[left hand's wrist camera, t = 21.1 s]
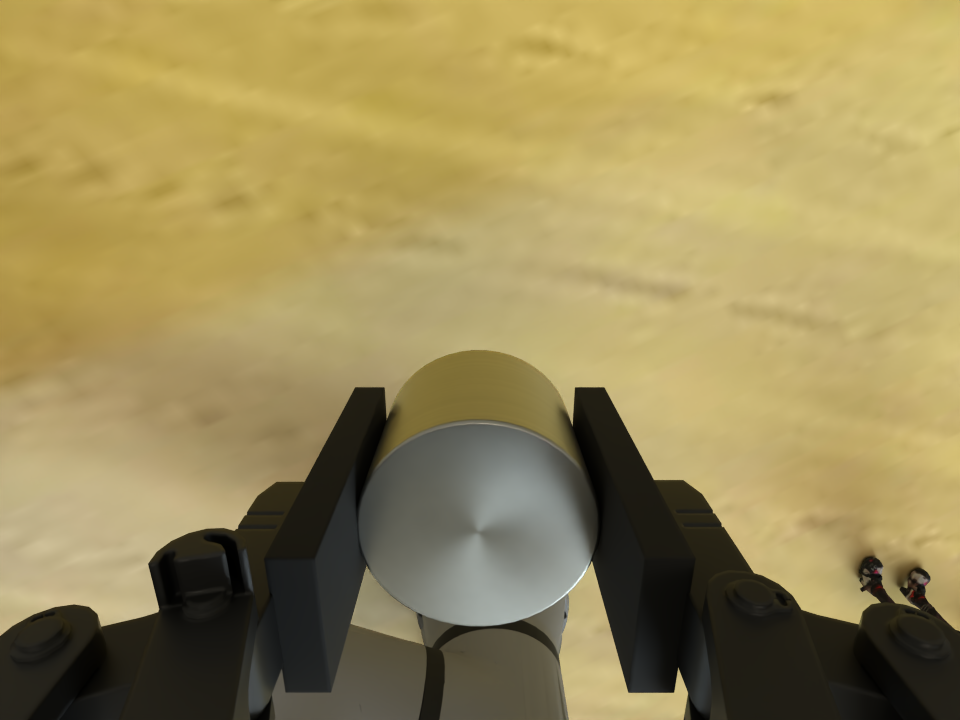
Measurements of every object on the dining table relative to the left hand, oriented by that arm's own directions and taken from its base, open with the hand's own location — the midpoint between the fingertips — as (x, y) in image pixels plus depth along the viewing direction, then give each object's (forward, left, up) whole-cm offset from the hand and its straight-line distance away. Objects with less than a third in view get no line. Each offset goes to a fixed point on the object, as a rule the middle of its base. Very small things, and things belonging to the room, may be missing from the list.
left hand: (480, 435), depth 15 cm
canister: (0, 0, 0) cm, 0 cm away
